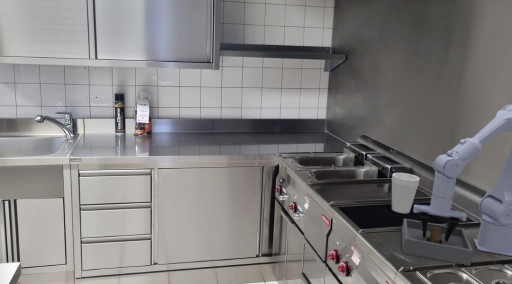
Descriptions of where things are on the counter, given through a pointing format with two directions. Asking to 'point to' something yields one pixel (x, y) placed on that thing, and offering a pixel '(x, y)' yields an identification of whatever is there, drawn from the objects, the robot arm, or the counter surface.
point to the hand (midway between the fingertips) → (434, 238)
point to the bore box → (445, 251)
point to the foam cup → (403, 191)
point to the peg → (435, 235)
